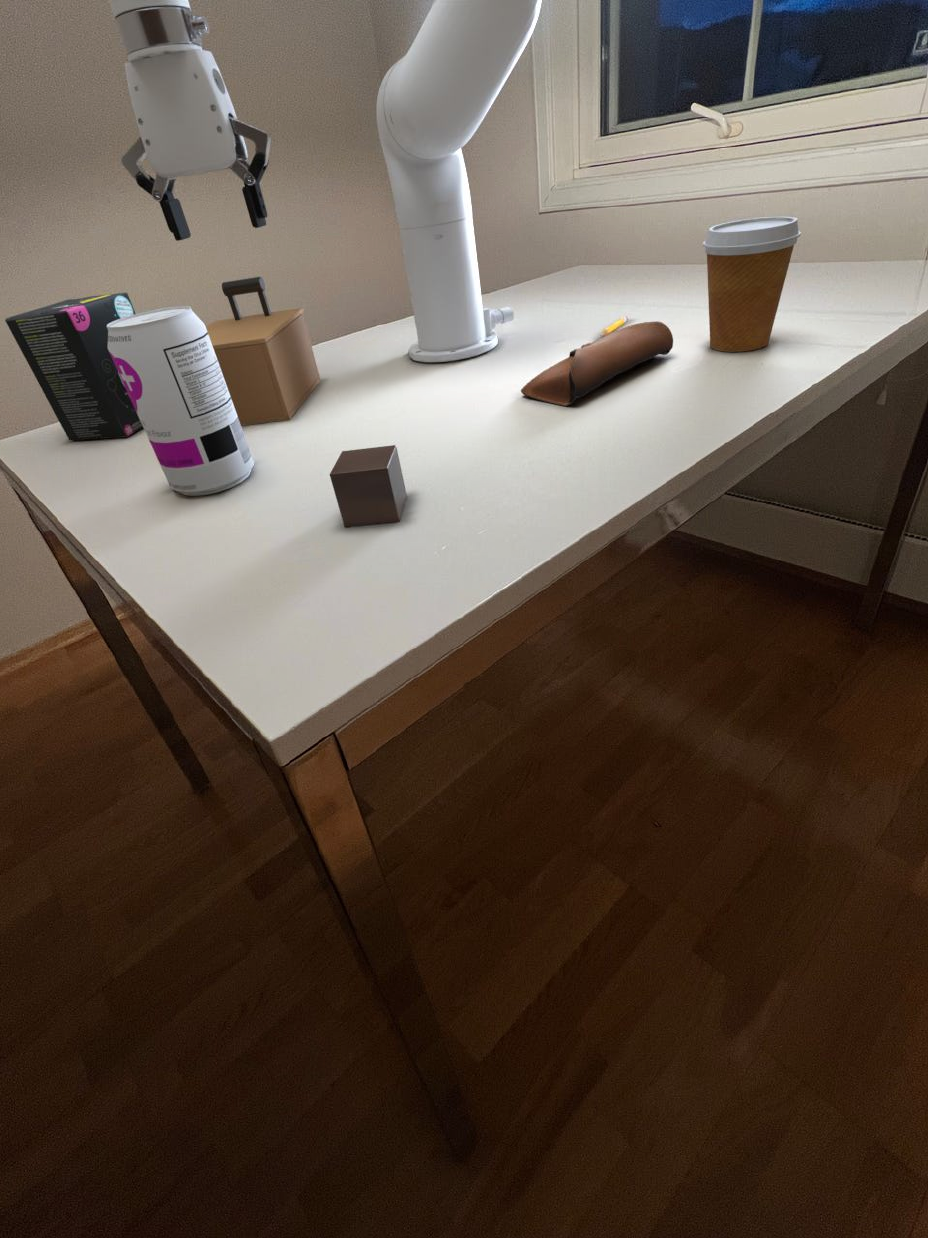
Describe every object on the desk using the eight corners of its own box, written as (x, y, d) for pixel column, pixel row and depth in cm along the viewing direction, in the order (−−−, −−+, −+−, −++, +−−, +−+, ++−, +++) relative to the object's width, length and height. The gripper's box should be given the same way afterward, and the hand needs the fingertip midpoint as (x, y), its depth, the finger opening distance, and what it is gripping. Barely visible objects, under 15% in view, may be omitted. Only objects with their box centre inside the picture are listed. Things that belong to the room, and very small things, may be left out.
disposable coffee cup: (678, 346, 76) (684, 231, 69) (742, 328, 78) (754, 214, 71) (735, 361, 69) (749, 234, 61) (804, 341, 71) (825, 215, 64)
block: (355, 501, 54) (342, 450, 51) (407, 495, 53) (396, 444, 50) (344, 526, 50) (329, 474, 47) (399, 521, 50) (387, 467, 47)
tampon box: (128, 438, 78) (67, 309, 69) (67, 442, 80) (0, 318, 71) (177, 407, 86) (128, 289, 78) (120, 412, 89) (67, 297, 80)
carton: (237, 391, 88) (214, 326, 83) (321, 380, 87) (302, 313, 82) (193, 431, 76) (163, 357, 71) (290, 419, 75) (266, 343, 69)
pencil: (628, 321, 89) (628, 316, 89) (603, 338, 84) (603, 333, 83) (622, 321, 89) (622, 316, 89) (597, 338, 84) (597, 333, 84)
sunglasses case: (611, 346, 78) (636, 296, 72) (653, 381, 76) (682, 332, 71) (514, 392, 69) (534, 339, 63) (559, 433, 67) (584, 382, 62)
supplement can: (175, 507, 58) (96, 334, 49) (171, 477, 64) (101, 320, 56) (262, 482, 60) (201, 311, 51) (250, 455, 66) (194, 300, 58)
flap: (216, 324, 84) (201, 283, 81) (303, 311, 82) (292, 269, 79) (163, 357, 71) (144, 310, 68) (266, 342, 69) (251, 293, 67)
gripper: (252, 29, 67) (299, 218, 77) (103, 59, 69) (167, 239, 79) (227, 18, 61) (281, 224, 71) (64, 52, 63) (139, 247, 73)
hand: (221, 232), depth 75 cm, fingers open, 9 cm apart
